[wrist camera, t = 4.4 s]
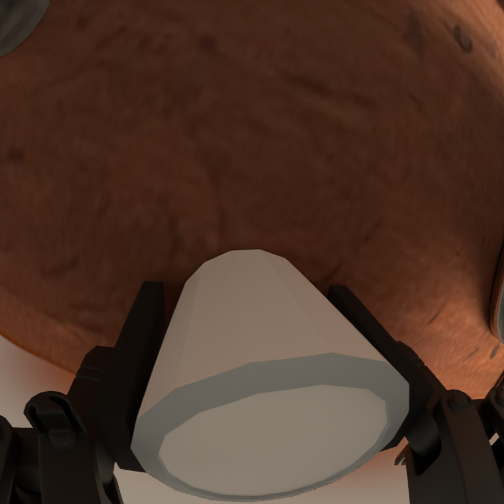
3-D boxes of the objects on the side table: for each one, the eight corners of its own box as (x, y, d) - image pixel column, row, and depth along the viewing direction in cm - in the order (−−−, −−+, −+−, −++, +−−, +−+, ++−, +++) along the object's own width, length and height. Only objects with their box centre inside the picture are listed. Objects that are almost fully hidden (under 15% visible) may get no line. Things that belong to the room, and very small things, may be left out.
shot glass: (271, 196, 10) (365, 277, 4) (347, 320, 13) (426, 432, 6) (130, 297, 11) (72, 438, 4) (228, 391, 13) (244, 516, 7)
